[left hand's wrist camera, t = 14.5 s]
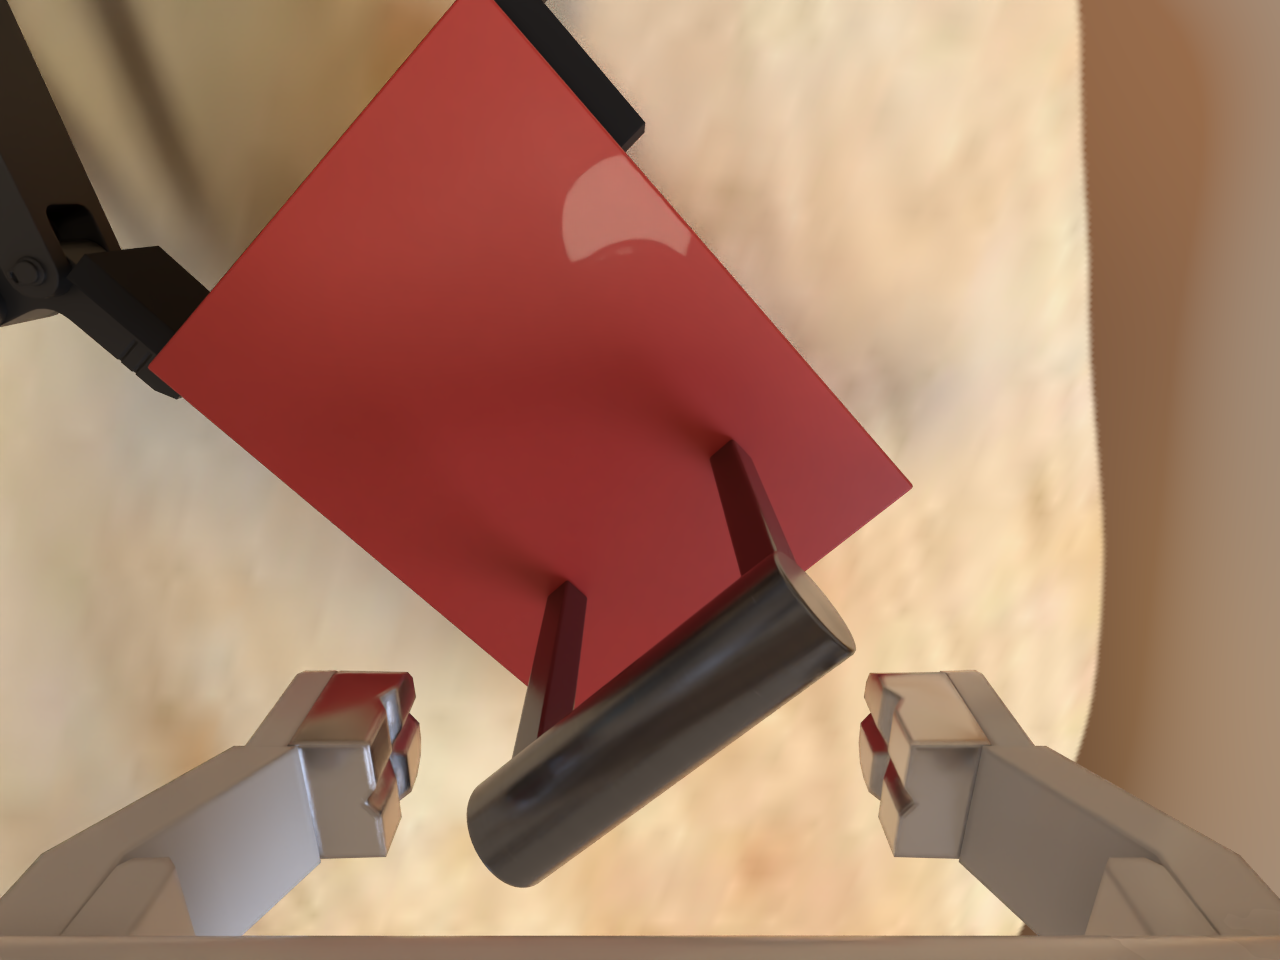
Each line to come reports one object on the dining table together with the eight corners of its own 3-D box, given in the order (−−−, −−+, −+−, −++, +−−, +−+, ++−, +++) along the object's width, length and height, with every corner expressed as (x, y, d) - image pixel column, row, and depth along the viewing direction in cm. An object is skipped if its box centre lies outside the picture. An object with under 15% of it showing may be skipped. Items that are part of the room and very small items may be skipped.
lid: (901, 473, 17) (1115, 701, 10) (591, 717, 20) (561, 1054, 12) (483, -11, 14) (288, -267, 6) (169, 358, 16) (-254, 510, 9)
